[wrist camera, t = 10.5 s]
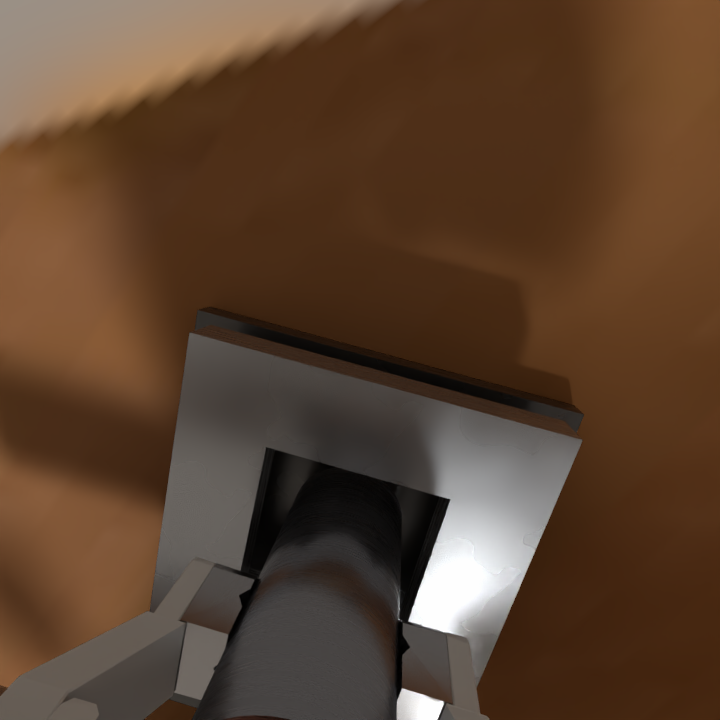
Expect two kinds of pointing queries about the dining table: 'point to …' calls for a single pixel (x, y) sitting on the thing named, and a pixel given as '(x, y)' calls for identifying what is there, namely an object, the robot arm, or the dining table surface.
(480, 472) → the pipe elbow on plate
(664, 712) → the dining table surface
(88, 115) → the dining table surface
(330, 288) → the dining table surface
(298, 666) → the pin
